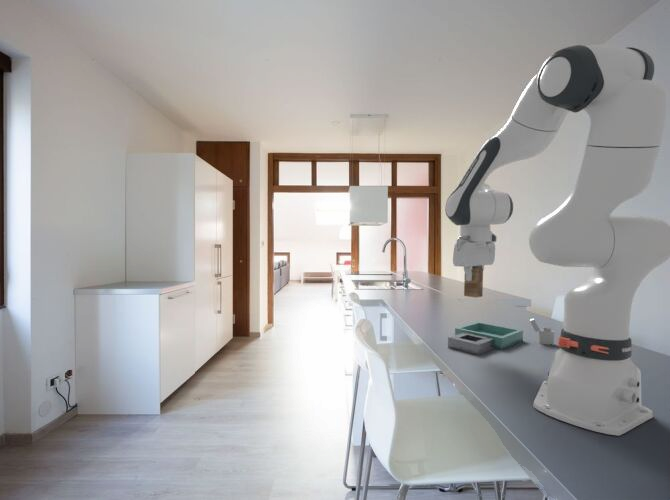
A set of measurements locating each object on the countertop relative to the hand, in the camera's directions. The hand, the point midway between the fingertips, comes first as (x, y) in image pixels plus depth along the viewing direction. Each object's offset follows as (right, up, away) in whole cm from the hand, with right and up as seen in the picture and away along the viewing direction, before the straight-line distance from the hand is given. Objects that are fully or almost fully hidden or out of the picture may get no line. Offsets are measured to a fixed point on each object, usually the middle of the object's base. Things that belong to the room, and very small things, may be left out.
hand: (473, 280), depth 110 cm
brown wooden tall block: (0, -5, 0) cm, 5 cm away
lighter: (+25, -22, +6) cm, 34 cm away
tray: (+9, -21, +9) cm, 25 cm away
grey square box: (-1, -21, 0) cm, 21 cm away
